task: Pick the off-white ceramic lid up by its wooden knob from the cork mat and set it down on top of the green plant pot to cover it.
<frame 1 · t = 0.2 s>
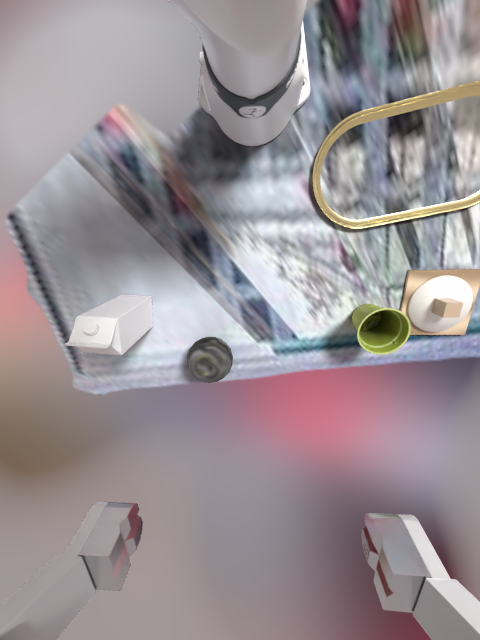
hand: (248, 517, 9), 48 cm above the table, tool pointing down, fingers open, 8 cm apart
mat: (436, 303, 53), on the table
plant pot: (365, 316, 55), on the table
oval gold ring: (409, 164, 46), on the table
lid: (438, 303, 53), point 1 cm above the table, touching mat
decorative stone: (214, 348, 61), on the table
milk carton: (138, 309, 58), on the table
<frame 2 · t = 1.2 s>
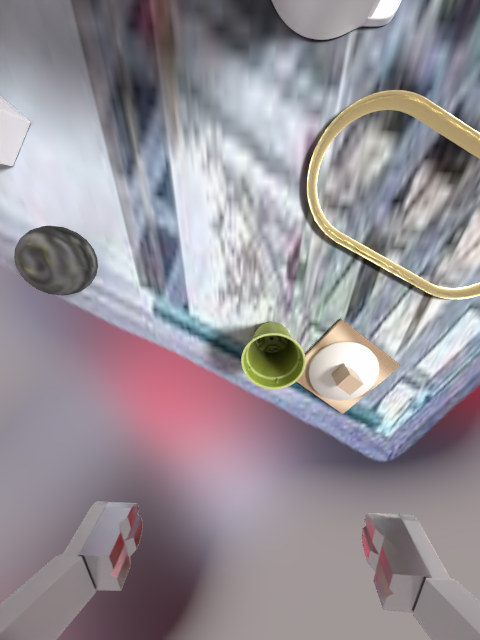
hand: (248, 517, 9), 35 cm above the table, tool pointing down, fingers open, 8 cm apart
mat: (341, 368, 46), on the table
plant pot: (270, 336, 45), on the table
oval gold ring: (419, 208, 36), on the table
lid: (342, 370, 46), point 1 cm above the table, touching mat
decorative stone: (82, 256, 42), on the table
milk carton: (1, 127, 36), on the table
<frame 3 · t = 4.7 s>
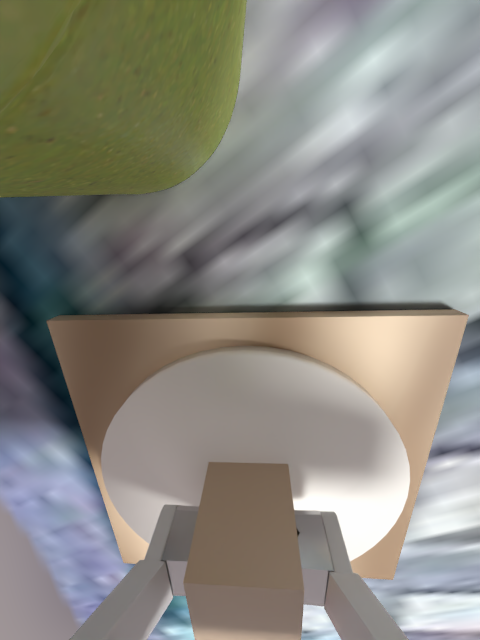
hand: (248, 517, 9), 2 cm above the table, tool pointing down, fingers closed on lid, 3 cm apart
mat: (249, 460, 11), on the table
plant pot: (129, 72, 7), on the table
lid: (249, 472, 11), point 1 cm above the table, touching gripper, mat
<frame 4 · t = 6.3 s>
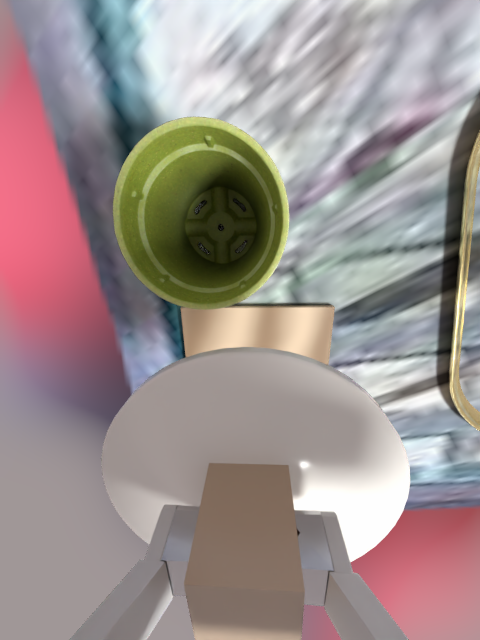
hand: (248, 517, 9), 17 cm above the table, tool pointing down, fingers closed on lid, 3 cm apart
mat: (256, 371, 26), on the table
plant pot: (221, 226, 22), on the table
lid: (250, 473, 11), point 15 cm above the table, touching gripper
when the fingers open (12 cm above the table, at t = 8.0 s): lid drops 2 cm, resting on plant pot.
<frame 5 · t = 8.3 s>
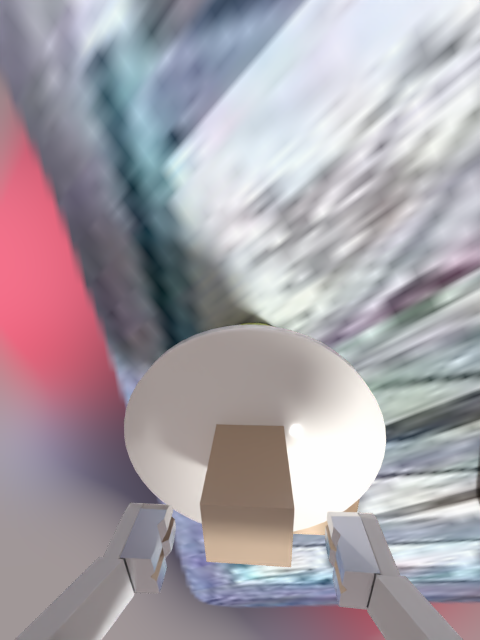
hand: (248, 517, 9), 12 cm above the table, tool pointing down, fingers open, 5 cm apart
mat: (286, 480, 25), on the table
lid: (250, 437, 13), point 9 cm above the table, touching plant pot
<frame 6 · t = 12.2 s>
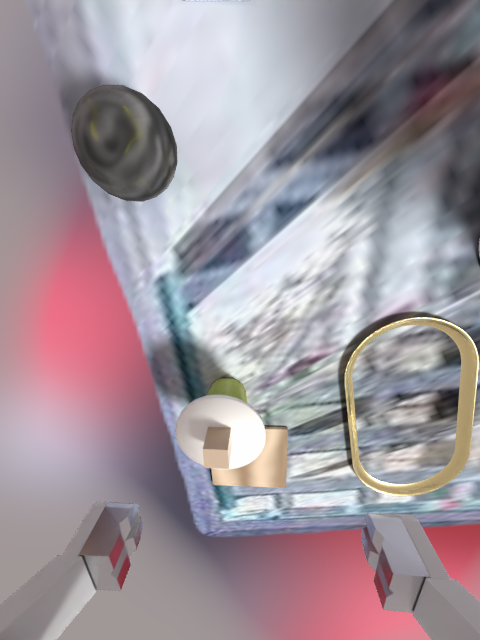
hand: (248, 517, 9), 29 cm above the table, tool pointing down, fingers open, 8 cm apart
mat: (248, 456, 47), on the table
plant pot: (227, 391, 42), on the table, touching lid
oval gold ring: (403, 412, 42), on the table
lid: (220, 431, 34), point 9 cm above the table, touching plant pot
decorative stone: (148, 161, 31), on the table
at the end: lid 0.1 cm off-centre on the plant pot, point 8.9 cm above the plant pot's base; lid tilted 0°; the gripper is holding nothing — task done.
